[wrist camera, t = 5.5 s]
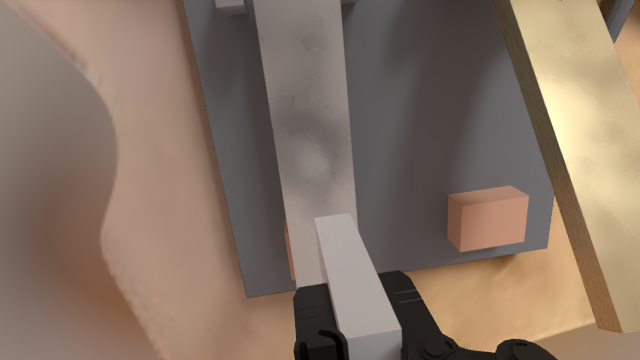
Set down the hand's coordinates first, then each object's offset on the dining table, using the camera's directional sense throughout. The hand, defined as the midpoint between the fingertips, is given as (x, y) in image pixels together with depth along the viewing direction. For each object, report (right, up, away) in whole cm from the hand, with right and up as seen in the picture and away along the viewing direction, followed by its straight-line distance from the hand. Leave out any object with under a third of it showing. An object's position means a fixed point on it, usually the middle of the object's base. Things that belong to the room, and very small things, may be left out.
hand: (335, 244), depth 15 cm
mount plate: (+3, +7, +7) cm, 10 cm away
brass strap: (+9, +6, -1) cm, 11 cm away
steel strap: (-1, +5, +3) cm, 5 cm away
